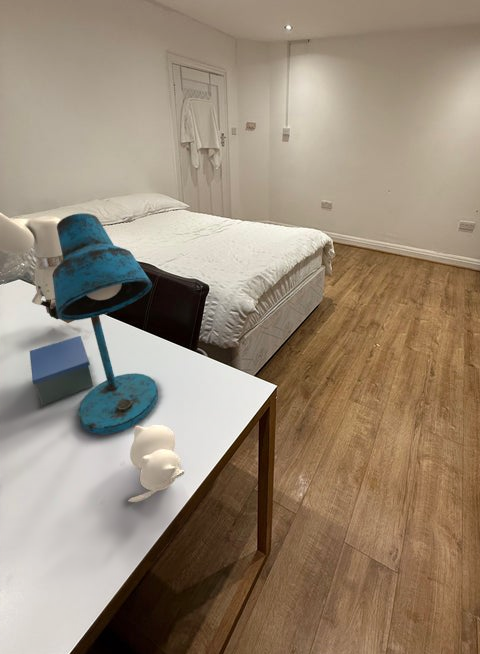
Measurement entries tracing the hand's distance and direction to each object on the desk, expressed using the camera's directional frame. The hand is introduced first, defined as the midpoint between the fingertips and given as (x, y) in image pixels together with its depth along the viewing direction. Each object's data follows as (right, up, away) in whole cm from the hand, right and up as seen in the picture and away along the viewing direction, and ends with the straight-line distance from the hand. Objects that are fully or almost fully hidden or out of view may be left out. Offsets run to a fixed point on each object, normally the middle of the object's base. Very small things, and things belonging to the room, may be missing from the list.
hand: (65, 313), depth 99 cm
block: (0, 0, 0) cm, 0 cm away
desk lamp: (+32, -17, -26) cm, 45 cm away
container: (+14, -14, -19) cm, 27 cm away
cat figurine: (+45, -23, -39) cm, 64 cm away
